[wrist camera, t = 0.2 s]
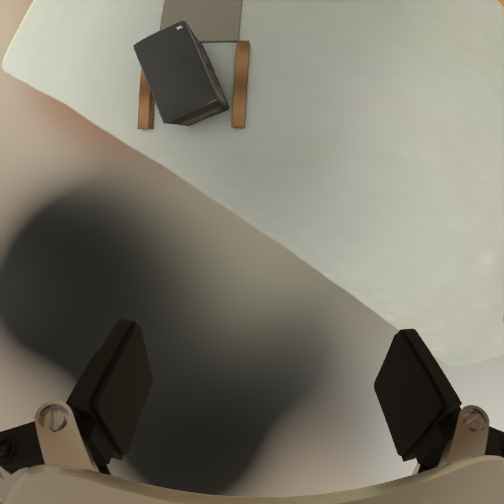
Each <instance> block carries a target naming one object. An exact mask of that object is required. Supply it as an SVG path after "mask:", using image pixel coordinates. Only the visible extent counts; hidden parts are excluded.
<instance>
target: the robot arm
mask: <svg viewBox="0 0 504 504" xmlns="http://www.w3.org/2000/svg"><path fill="white" fill-rule="evenodd" d="M151 385H152V374H151V369H150V366H149V361H148V357H147V353H146V349H145V344H144V340H143V335H142V330H141V327H140V326H139V325H137V324H136V322H135V321H132V320H125V319H119V320H118V322H117V323H116V325H115V326H114V328H113V329H112V331H111V332H110V334H109V336H108V337H107V339H106V341H105V342H104V344H103V345H102V347H101V348H100V350H99V351H97V352H96V353H95V354H94V356H93V357H92V359H91V361H90V362H89V364H88V366H87V367H86V369H85V371H84V373H83V374H82V376H81V378H80V379H79V381H78V382H77V384H76V386H75V388H74V389H73V391H72V393H71V395H70V396H69V398H68V400H67V402H66V403H64V402H61V401H49V402H47V403H45V404H43V405H42V406H40V407H39V409H38V410H37V412H36V415H35V421H34V422H31V423H28V424H24V425H21V426H18V427H15V428H12V429H8V430H5V431H2V432H0V504H504V432H502V431H499V430H497V429H494V428H492V427H490V426H489V418H488V416H487V414H486V413H485V411H484V410H483V409H481V408H480V407H478V406H474V405H468V406H466V407H464V408H463V409H462V410H461V408H460V405H461V404H462V403H461V401H460V399H459V398H458V396H457V394H456V392H455V391H454V389H453V387H452V386H451V384H450V383H449V381H448V379H447V377H446V376H445V374H444V373H443V371H442V369H441V368H440V366H439V365H438V363H437V361H436V360H435V358H434V357H433V355H432V354H431V352H430V351H429V349H428V348H427V346H426V345H425V343H424V342H423V340H422V339H421V337H420V336H419V334H418V333H417V331H416V330H415V329H402V330H400V331H399V332H398V334H396V335H395V336H394V338H393V341H392V343H391V346H390V348H389V351H388V353H387V356H386V358H385V360H384V363H383V365H382V367H381V369H380V371H379V374H378V376H377V378H376V380H375V383H374V389H375V392H376V395H377V397H378V400H379V403H380V405H381V408H382V410H383V413H384V416H385V419H386V422H387V424H388V427H389V430H390V433H391V436H392V439H393V441H394V444H395V447H396V450H397V453H398V455H400V456H402V459H403V461H407V460H411V459H414V458H416V459H417V465H416V467H415V470H414V472H413V474H412V475H411V476H408V477H404V478H401V479H397V480H394V481H390V482H386V483H382V484H377V485H373V486H368V487H363V488H358V489H353V490H347V491H340V492H334V493H326V494H319V495H307V496H294V497H271V498H270V497H260V498H259V497H231V496H217V495H207V494H198V493H191V492H183V491H178V490H171V489H166V488H160V487H156V486H151V485H146V484H142V483H138V482H133V481H129V480H126V479H122V478H118V477H115V476H114V475H113V473H112V471H111V469H110V467H109V465H108V464H109V463H110V460H111V458H115V459H118V460H122V458H123V455H124V454H128V452H129V449H130V446H131V443H132V440H133V437H134V434H135V431H136V428H137V425H138V422H139V419H140V416H141V413H142V410H143V407H144V405H145V402H146V399H147V396H148V393H149V391H150V388H151Z"/></svg>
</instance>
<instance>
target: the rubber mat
mask: <svg viewBox="0 0 504 504" xmlns="http://www.w3.org/2000/svg"><path fill="white" fill-rule="evenodd" d="M241 6H242V0H165V1H164V7H163V13H162V19H161V26H160V30H162V29H164V28H166V27H168V26H170V25H173V24H175V23H177V22H179V21H181V20H185V22H186V23H187V24H188V26H189V27H190V29H191V30H192V32H193V33H194V35H195V36H196V38H197V39H198V41H199V42H200V43H206V42H237V41H239V29H240V17H241Z"/></svg>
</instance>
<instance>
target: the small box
mask: <svg viewBox="0 0 504 504" xmlns="http://www.w3.org/2000/svg"><path fill="white" fill-rule="evenodd" d="M133 47H134V49H135V52H136V55H137V57H138V60H139V62H140V65H141V67H142V70H143V72H144V75H145V77H146V80H147V82H148V85H149V88H150V90H151V93H152V95H153V98H154V100H155V103H156V105H157V108H158V110H159V113H160V115H161V118H162V120H163V123H169V124H178V125H186V126H190V125H192V124H194V123H197V122H199V121H201V120H204V119H206V118H209V117H211V116H213V115H216V114H218V113H221V112H223V111H226V110H228V109H229V106H228V103H227V101H226V98H225V96H224V94H223V91H222V89H221V86H220V84H219V82H218V79H217V77H216V75H215V72H214V69H213V67H212V65H211V63H210V60H209V58H208V56H207V54H206V52H205V50H204V47H203V46H202V44H201V43H200V42H199V41H198V39H197V38H196V36H195V35H194V33H193V32H192V30H191V29H190V27H189V26H188V24H187V23H186V22H185V20H181V21H179V22H177V23H175V24H173V25H170V26H168V27H166V28H164V29H162V30H160V31H158V32H156V33H154V34H152V35H150V36H148V37H147V38H145V39H143V40H141V41H139V42H138V43H136V44H134V45H133Z"/></svg>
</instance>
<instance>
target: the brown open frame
mask: <svg viewBox="0 0 504 504" xmlns="http://www.w3.org/2000/svg"><path fill="white" fill-rule="evenodd" d="M249 47H250V44H249V41H237V52H236V66H235V80H234V96H233V113H232V127H233V128H245V110H246V94H247V78H248V62H249ZM153 119H154V98H153V95H152V93H151V90H150V88H149V85H148V82H147V80H146V77H145V75H144V72H143V70H142V69H141V80H140V93H139V109H138V129H153Z"/></svg>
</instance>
